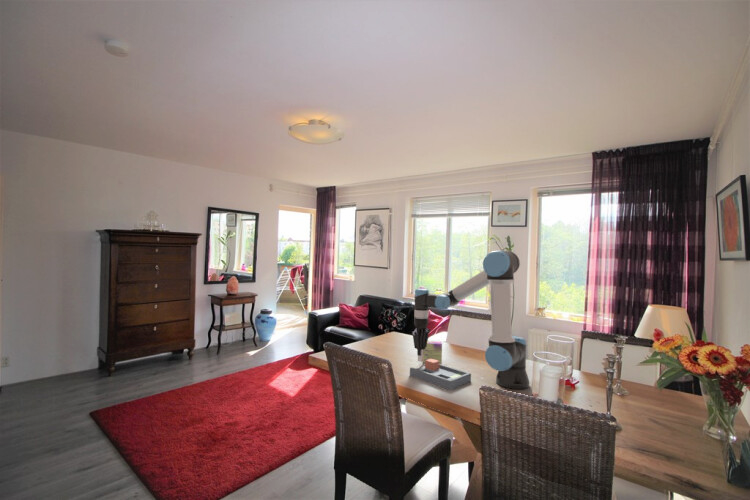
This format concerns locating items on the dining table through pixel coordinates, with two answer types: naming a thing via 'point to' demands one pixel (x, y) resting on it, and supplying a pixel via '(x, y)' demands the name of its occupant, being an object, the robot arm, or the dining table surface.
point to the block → (432, 364)
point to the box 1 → (433, 351)
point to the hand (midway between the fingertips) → (420, 361)
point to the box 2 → (442, 376)
